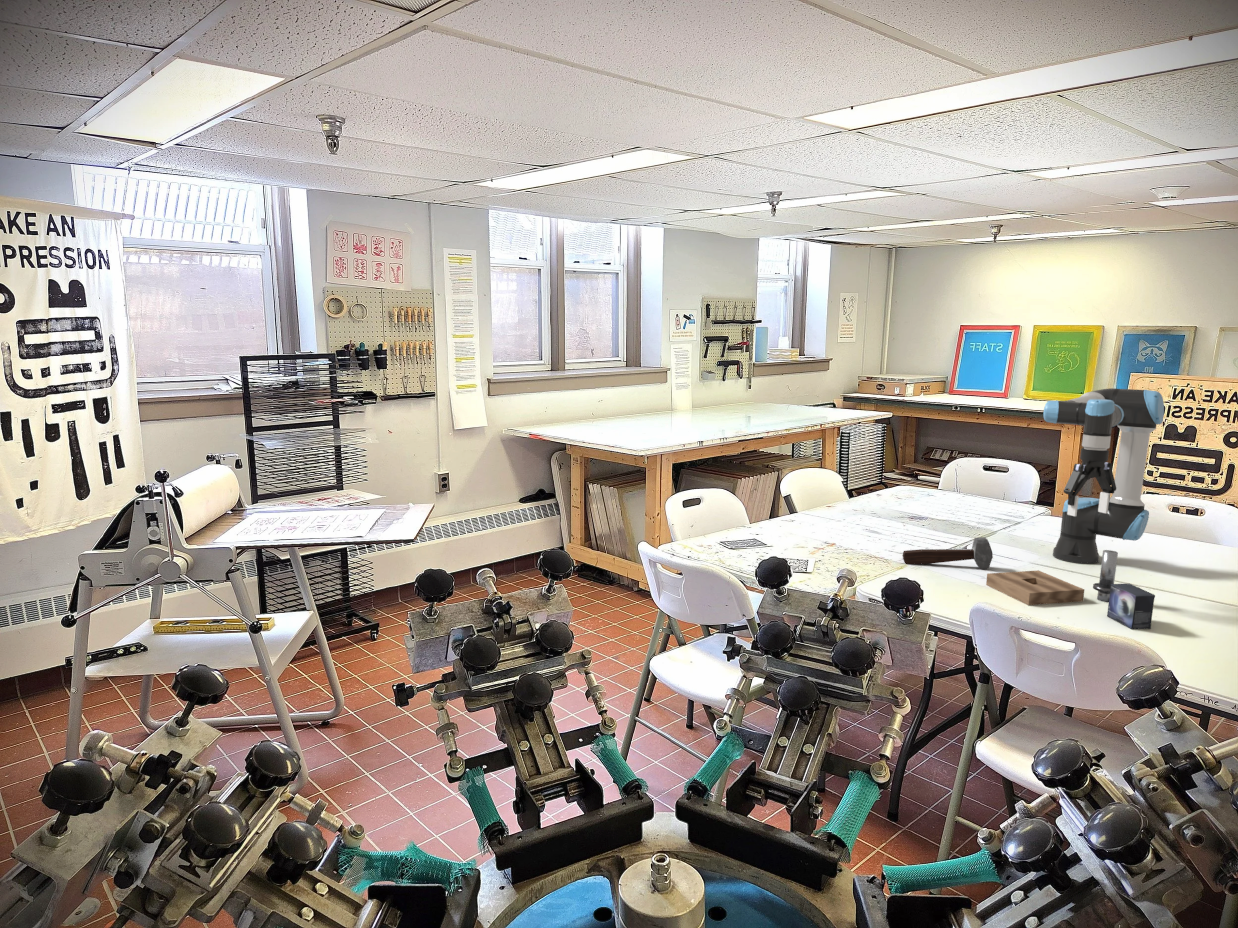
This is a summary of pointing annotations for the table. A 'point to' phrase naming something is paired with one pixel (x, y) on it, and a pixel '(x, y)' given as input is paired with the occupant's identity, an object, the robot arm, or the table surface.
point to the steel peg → (1106, 575)
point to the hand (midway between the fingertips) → (1087, 514)
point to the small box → (1130, 606)
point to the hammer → (952, 554)
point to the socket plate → (1035, 587)
